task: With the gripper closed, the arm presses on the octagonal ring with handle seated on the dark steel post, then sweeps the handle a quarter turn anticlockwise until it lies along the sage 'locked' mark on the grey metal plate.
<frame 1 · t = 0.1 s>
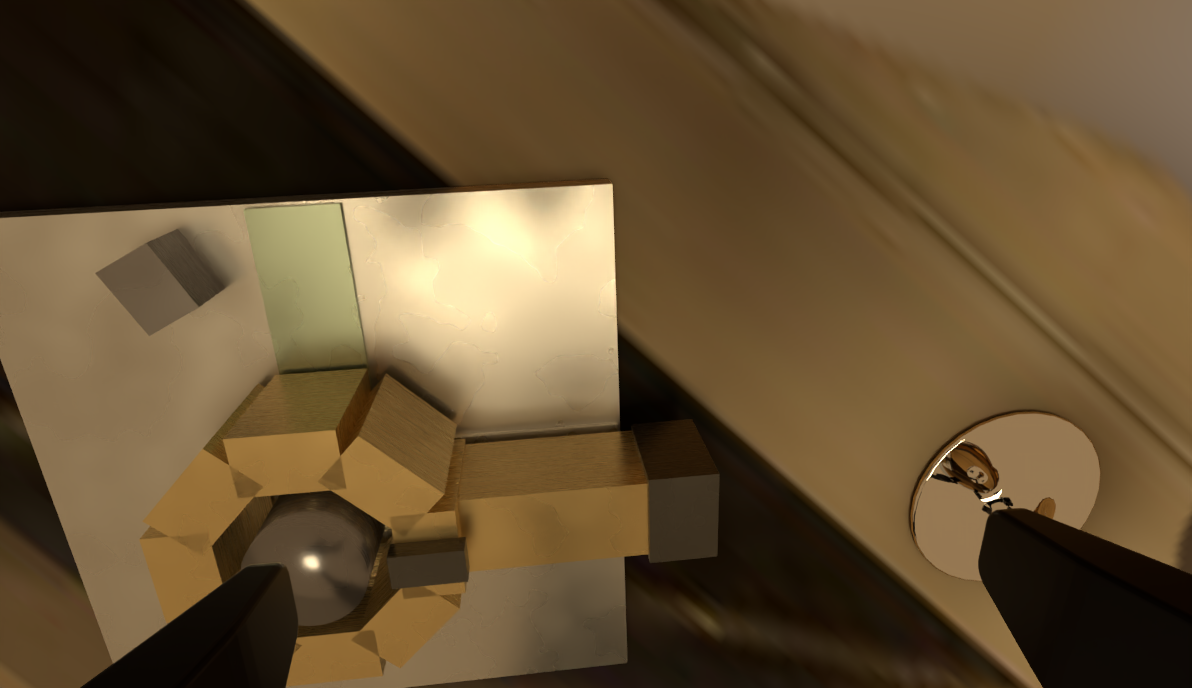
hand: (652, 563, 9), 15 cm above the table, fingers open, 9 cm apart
post base: (354, 461, 24), on the table
octagonal ring with handle: (452, 517, 21), point 4 cm above the table, hinge at 0.0°
wineglass: (998, 494, 28), on the table
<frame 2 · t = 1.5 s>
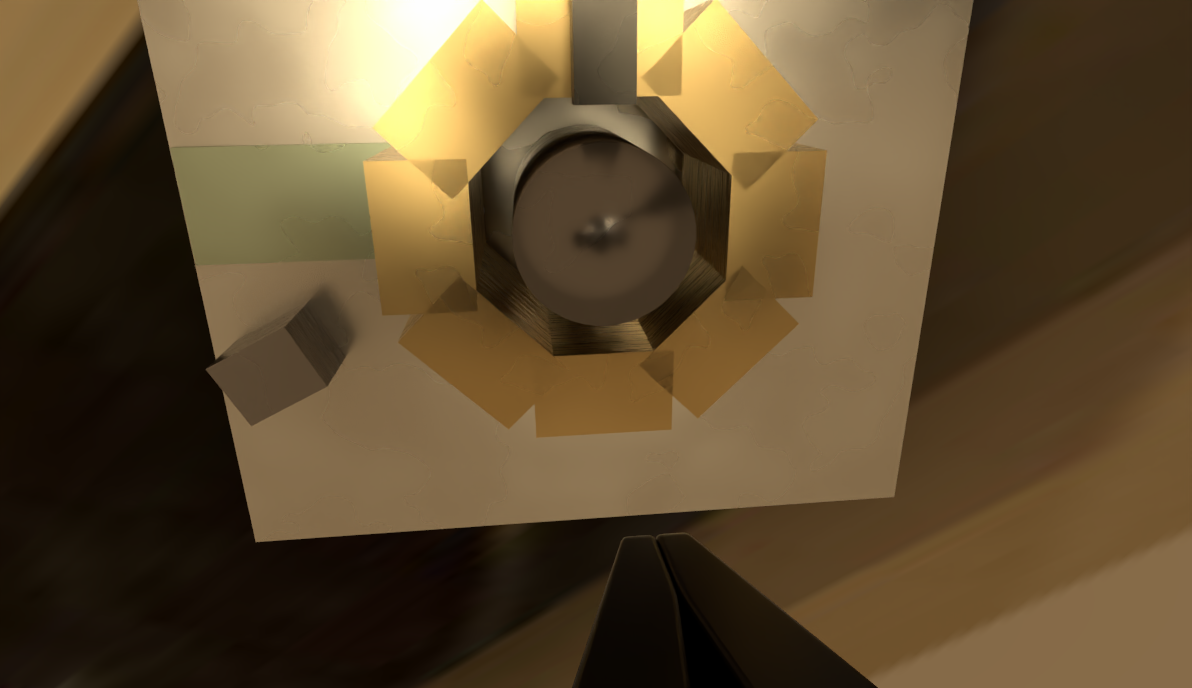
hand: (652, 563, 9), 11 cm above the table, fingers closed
post base: (577, 188, 18), on the table
octagonal ring with handle: (590, 16, 13), point 4 cm above the table, hinge at 0.0°
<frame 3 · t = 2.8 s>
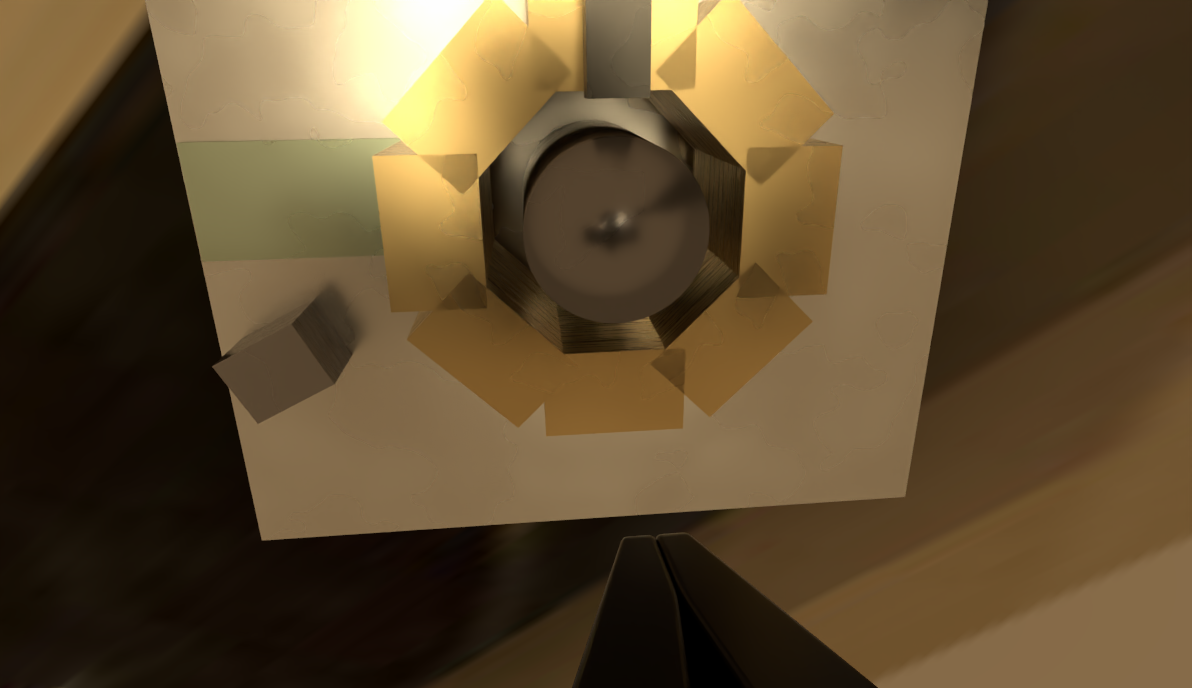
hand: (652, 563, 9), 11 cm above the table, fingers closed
post base: (587, 184, 18), on the table
octagonal ring with handle: (602, 9, 13), point 4 cm above the table, hinge at 0.0°
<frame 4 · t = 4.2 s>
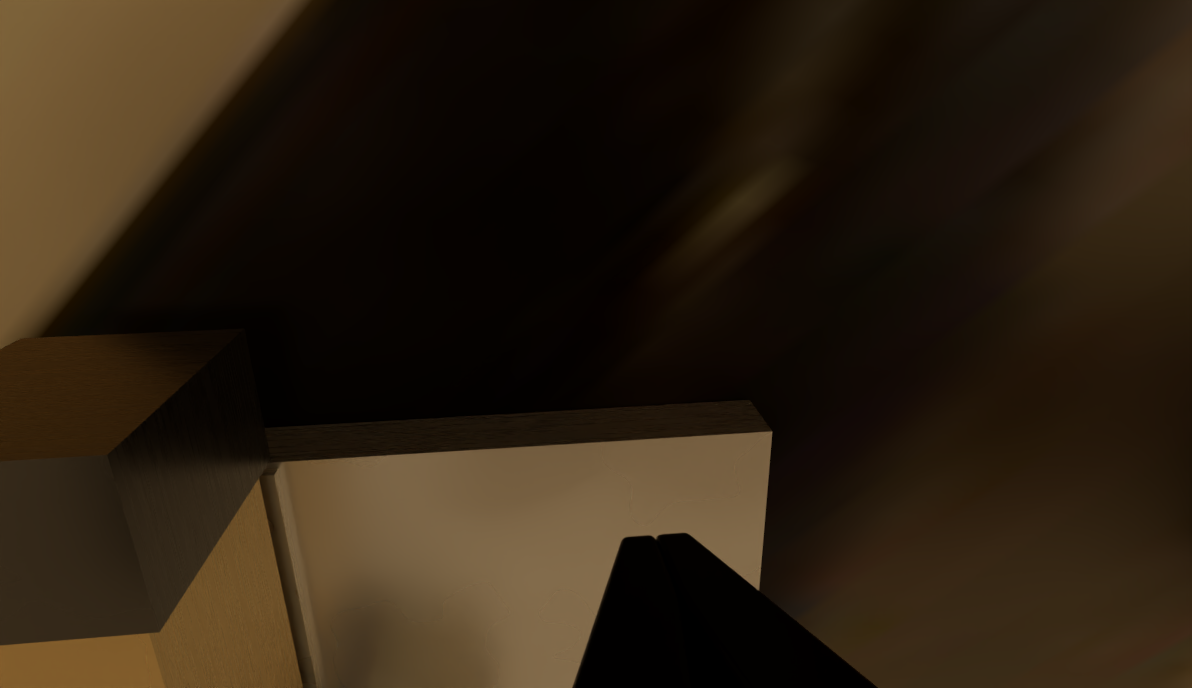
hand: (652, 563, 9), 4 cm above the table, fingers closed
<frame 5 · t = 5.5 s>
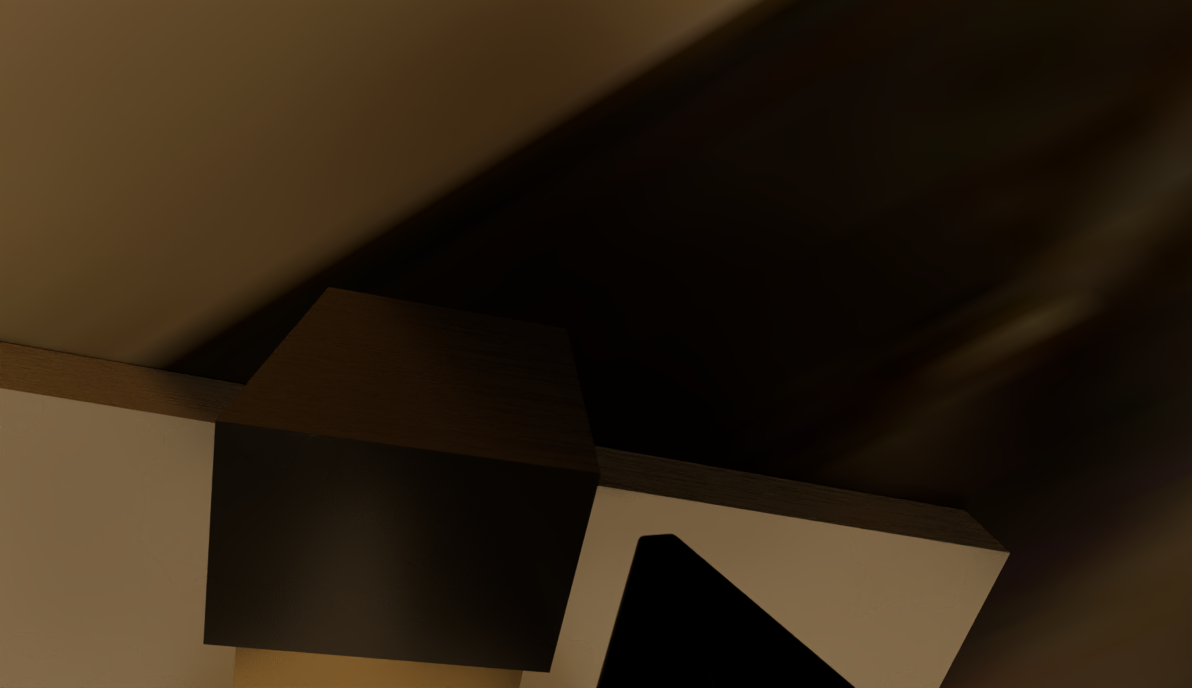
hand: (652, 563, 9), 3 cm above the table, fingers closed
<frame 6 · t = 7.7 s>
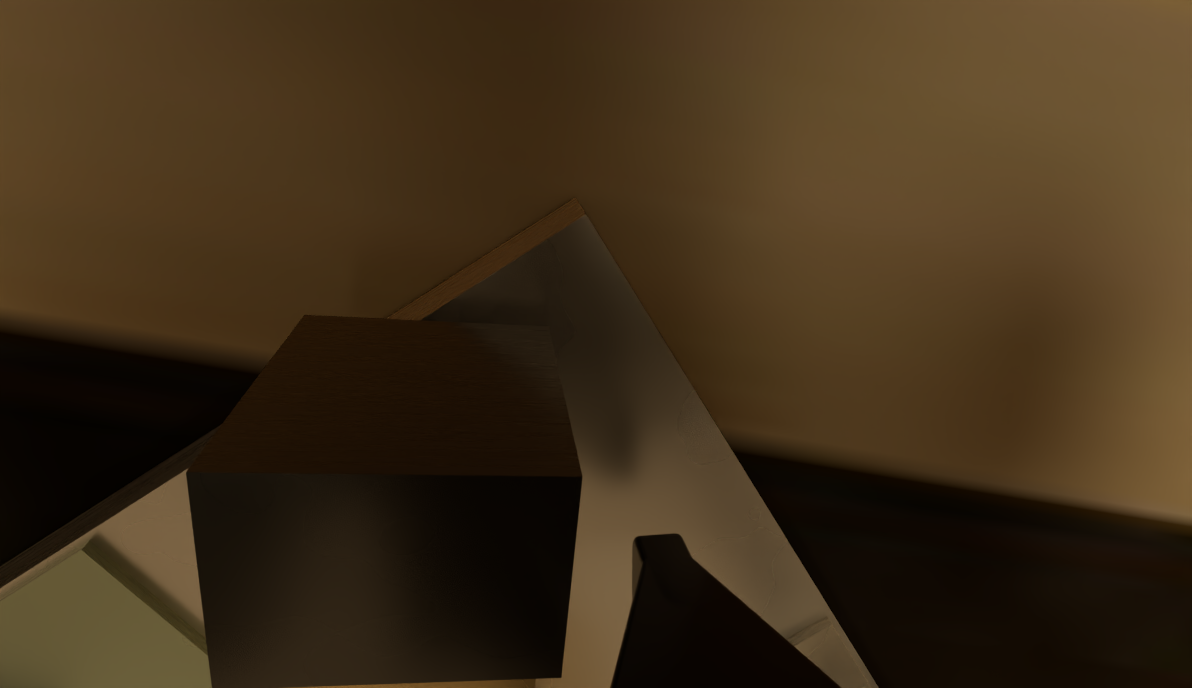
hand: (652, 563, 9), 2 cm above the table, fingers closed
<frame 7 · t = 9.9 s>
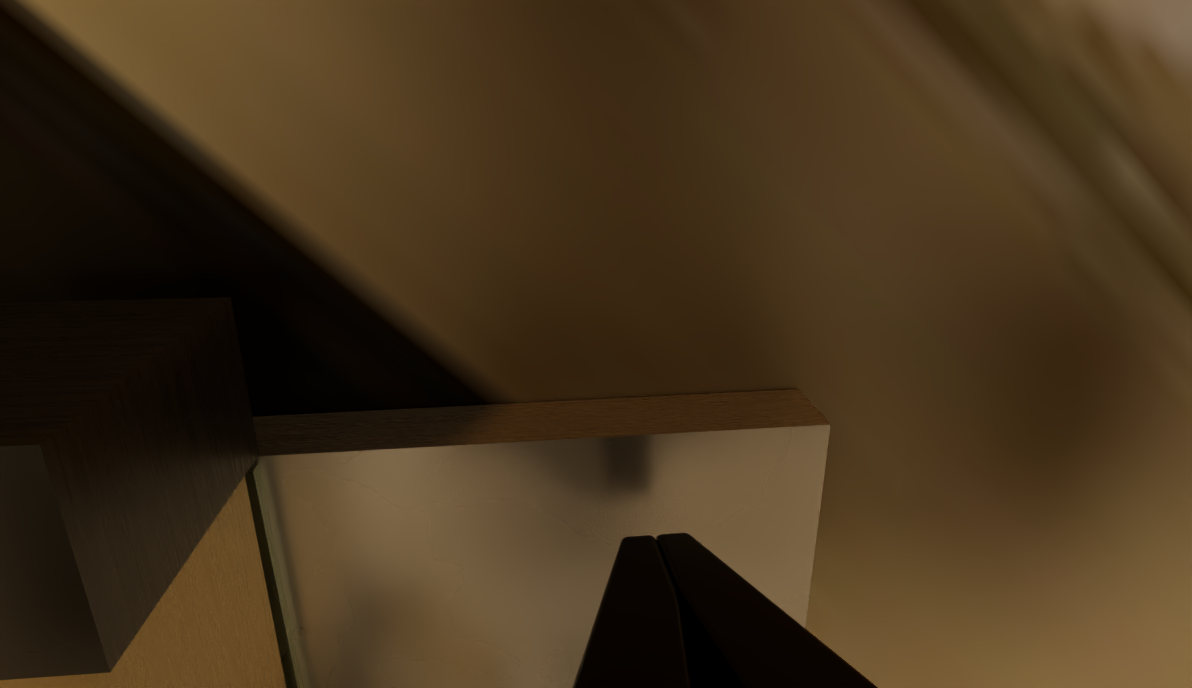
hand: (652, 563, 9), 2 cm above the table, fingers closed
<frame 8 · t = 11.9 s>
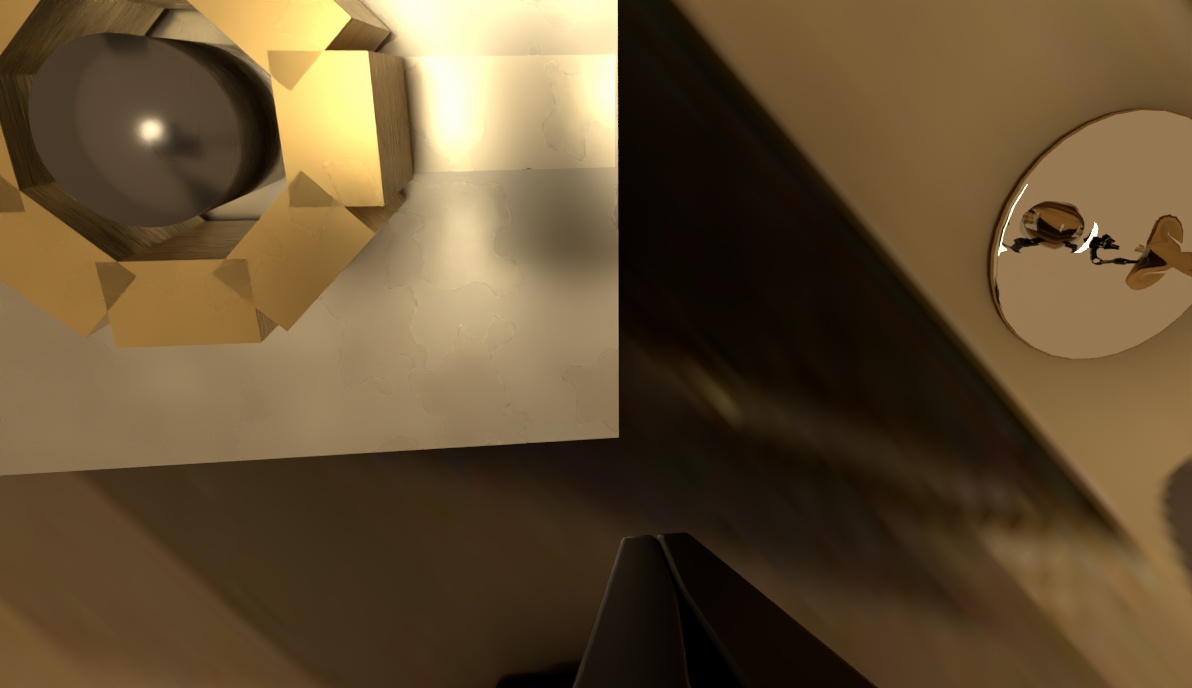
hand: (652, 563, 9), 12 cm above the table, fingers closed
post base: (254, 116, 18), on the table
wineglass: (1102, 238, 21), on the table
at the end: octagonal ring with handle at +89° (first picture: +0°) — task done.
